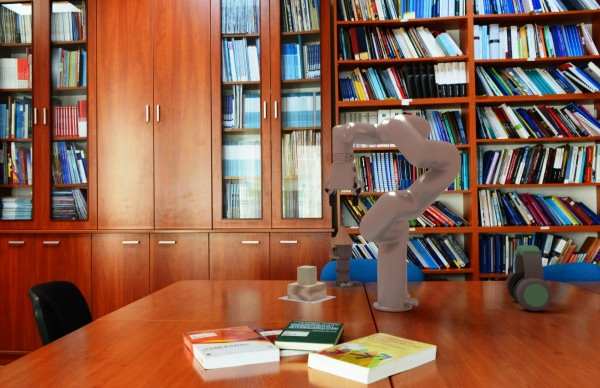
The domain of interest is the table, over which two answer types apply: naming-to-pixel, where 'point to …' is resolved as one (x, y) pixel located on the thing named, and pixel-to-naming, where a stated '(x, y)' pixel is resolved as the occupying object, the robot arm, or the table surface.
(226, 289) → the table surface
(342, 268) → the model tower
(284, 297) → the board
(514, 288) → the headphones
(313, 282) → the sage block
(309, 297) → the block
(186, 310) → the table surface
